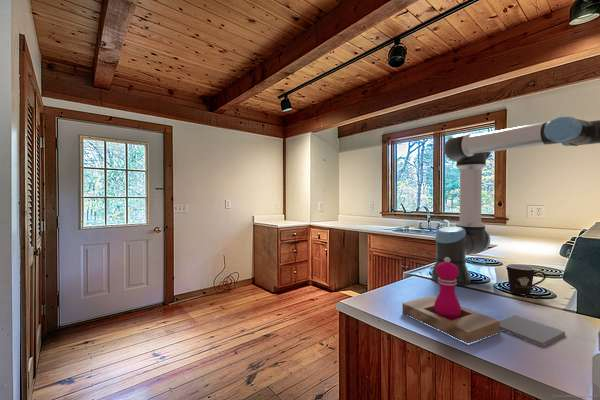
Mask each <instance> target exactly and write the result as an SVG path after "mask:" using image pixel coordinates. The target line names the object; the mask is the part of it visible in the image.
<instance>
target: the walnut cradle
mask: <svg viewBox="0 0 600 400" xmlns="http://www.w3.org/2000/svg"><path fill="white" fill-rule="evenodd" d="M437 297H438V296H433V295H429V296H424V297H421V298H417V299H414V300H410V301H409V300H408V301H406V302H403V303H402V304H401V305H402V306H401V307H402V311H401V312H402V314H403V313H404V314H406V315H408V316H411V317H413V318H415V319H417V320H419V321H422V322H423V323H426V324H428V325H430V326H432V327H434V328H436V329H439V330H440V331H443V332H445V333H447V334H449V335H451V336H453V337H455V338H457V339H459V340H462V341H464V342H466V343H471V342H474V341H477V340H480V339H483V338H485V337H488V336H491V335H493V334H496V333H499V332H500V333H501V330H500V321H501V320H499V319H496V318H493V317H491V316H488V315H486V314H482V313H480V312H477V311H474V310H472V309H469V308H466V307H464V306H462V305H460V307H461V314H460V315H459V316H458V318H459V319H456V320H453V321H451V320H448V319H446V318H444V317H441V316H439V315H437V314H438V313H437V312H436V311H435V309H434V303H435V301H436V299H437ZM404 314H403V315H404ZM406 315H405V316H406ZM408 316H407V317H408ZM423 323H422V324H423ZM500 333H499V334H500ZM496 335H497V334H496ZM491 337H492V336H491Z"/></svg>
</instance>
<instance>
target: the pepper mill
mask: <svg viewBox="0 0 600 400" xmlns="http://www.w3.org/2000/svg"><path fill="white" fill-rule="evenodd" d="M436 272H437V274H438V275H439V277H438V279H439V280H438V282H437V283H439V292H438V295H437V296H436V297H437V299H436V301H435V303H434V309H435V311H436V312H437V313H438V314H437V315H439V316H441V317H444V318H446V319H448V320H451V321H453V320H456V319H459V318H458V316H459V315H460V314H461V307H462V306H461V304H460V302H459V300H458V298H457V296H456V292H455V291H456V289H455V288H456V286H457V285H456V284H457V283H456V281H457V280H456V279H455V278H456V277H457V276H458V274H459V271H458V268H457V266H456V265H455V264H453V263H450V258H448V257H445V258H444V262H442V263H439V264H438V265H437V268H436ZM460 306H461V307H460Z"/></svg>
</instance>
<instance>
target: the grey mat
mask: <svg viewBox="0 0 600 400" xmlns="http://www.w3.org/2000/svg"><path fill="white" fill-rule="evenodd" d="M499 321H500V331H502V330H503V331H502V332H504V331H505V333H507V332H509V333H511V334H510V335H512V334H513V335H512V336H514V335H516V336H515V337H517V336H518V337H517V338H519V337H521V338H520V339H522V338H523V340H524V339H526V340H525V341H527V340H528V341H527V342H529V341H531V342H530V343H532V342H534V343H533V344H535V343H536V344H535V345H537V344H539V345H538V346H540V345H541V346H540V347H542V346H543V347H544V345H545V346H547V345H549V344H551V343H553V342H555V341H556V339H557V340H559V339H560V337H561V338H563V337H565V336H566V331H564V330H561V329H558V328H554V327H553V326H552V327H551V326H549V325H546V324H543V323H540V322H537V321H534V320H531V319H529V318H526V317H522V316H519V315H517V314H515V315H512V316H509V317H507V318H503V319H501V320H499ZM509 333H508V334H509ZM564 335H565V336H564ZM562 336H563V337H562ZM558 338H559V339H558ZM550 342H551V343H550ZM548 343H549V344H548ZM546 344H547V345H546Z"/></svg>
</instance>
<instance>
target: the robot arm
mask: <svg viewBox="0 0 600 400" xmlns="http://www.w3.org/2000/svg"><path fill="white" fill-rule="evenodd" d="M554 144H555V145H556V144H562V146H564V147H570V146H572V147H573V146H574V147H578V146H585V145H594V144H600V119H598V120H590V121H589V120H584V119H583V120H582V119H578V118H576V117H573V116H559V117H555V118H553V119H551V120H550V121H543V122H537V123H533V124H527V125H522V126H521V125H520V126H516V127H510V128H504V129H500V130H493V131H489V132H483V133H477V134H473V133H470V132H469V133H464V134H463V133H462V134H456V135H452V136H451V137H449V138H448V139H447V140H446V142H445V143H444V146H443V151H444V154H445V156H446V158H448V159H449V160H451V161H454V162H456V168H457V169H459V221H458V222H457V223H456V224H455V226H445V227H440V228H438V229H436V231H435V239H434V240H435V262H434V263H435V264H434V267H433V270H432V273H431V279H432V280H433V281H434V282H436V283H439V282H438V280H439V279H438V277H439V275H438V274H437V272H436V268H437V265H438V264H439V263H442V262H444V258H445V257H448V258H450V263H453V264H455V265H456V266H457V268H458V271H459V274H458V276H457V277H456V278H455V279H456V280H457V281H456V283H457V284H456V285H455V286H468V285H470V284H471V276H470V273H469V271H468V267H467V265H466V261H467V260H466V258H467V257H466V256H467V255H475V254H479V253H483V252H485V251H486V250H487V249H488V248H489V247H490V244H491V236H490V234H489V232H488V231H487V230H486V225H485V223H483V222H482V191H483V190H482V186H483V185H482V178H483V177H482V175H483V174H482V173H483V172H482V171H483V169H484V168H485V166H486V165H487V160H488V159H489V157H490V156H491V154H492V152H498V151H499V152H500V151H507V150H514V149H521V148H529V147H539V146H544V145H545V146H546V145H547V146H548V145H554Z"/></svg>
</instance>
